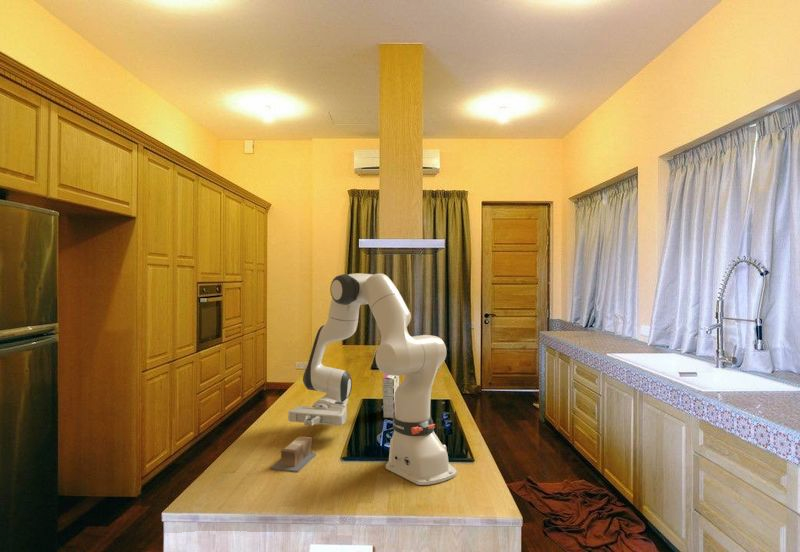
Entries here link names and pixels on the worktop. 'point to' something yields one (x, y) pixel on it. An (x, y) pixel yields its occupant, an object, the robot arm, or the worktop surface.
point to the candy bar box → (389, 395)
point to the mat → (297, 467)
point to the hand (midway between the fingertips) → (307, 423)
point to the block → (296, 451)
